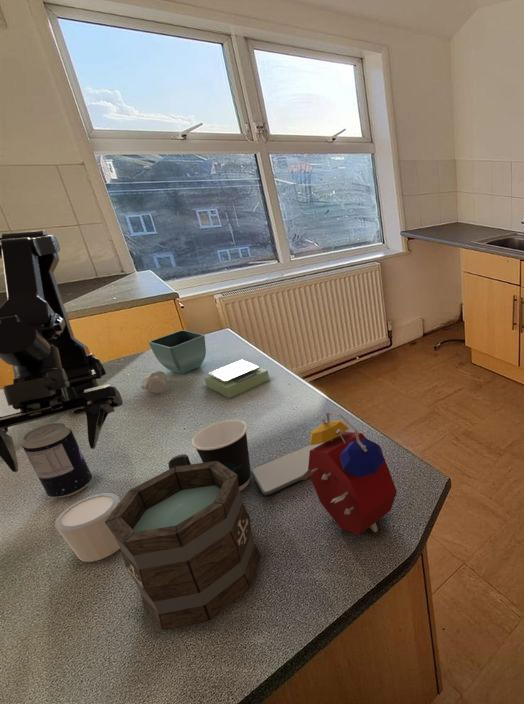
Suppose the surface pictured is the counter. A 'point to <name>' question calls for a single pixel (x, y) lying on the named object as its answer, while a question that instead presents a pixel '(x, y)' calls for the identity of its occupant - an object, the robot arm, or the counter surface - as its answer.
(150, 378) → the pale two-lobed sculpture
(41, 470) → the beverage can
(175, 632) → the counter surface
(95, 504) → the white tapered cup
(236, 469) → the dixie cup
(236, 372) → the pan
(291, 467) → the smartphone
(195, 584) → the mug
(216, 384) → the scale
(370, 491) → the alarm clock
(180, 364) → the flower pot
